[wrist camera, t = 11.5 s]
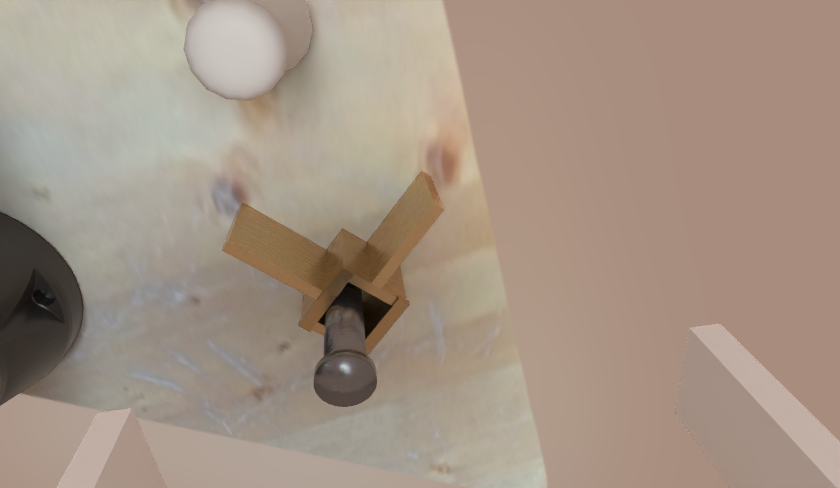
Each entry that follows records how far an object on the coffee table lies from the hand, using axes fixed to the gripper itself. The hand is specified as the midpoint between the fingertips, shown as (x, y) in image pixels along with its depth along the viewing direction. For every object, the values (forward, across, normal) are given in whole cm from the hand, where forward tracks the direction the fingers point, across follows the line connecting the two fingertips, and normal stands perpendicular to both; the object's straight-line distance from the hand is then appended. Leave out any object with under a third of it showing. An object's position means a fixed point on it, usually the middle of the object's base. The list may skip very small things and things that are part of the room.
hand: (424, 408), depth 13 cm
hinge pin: (+28, -4, -12) cm, 31 cm away
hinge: (+28, -3, -7) cm, 29 cm away
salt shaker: (+28, -6, +7) cm, 30 cm away
